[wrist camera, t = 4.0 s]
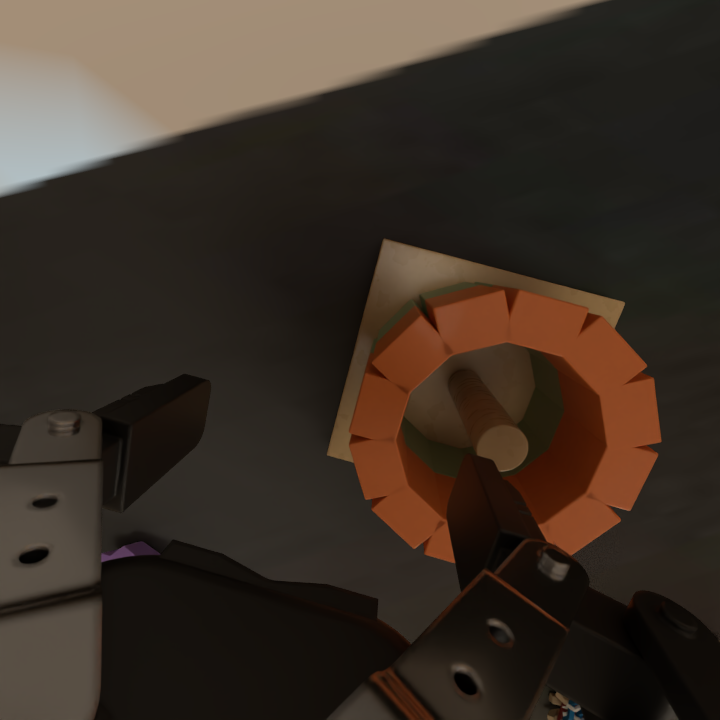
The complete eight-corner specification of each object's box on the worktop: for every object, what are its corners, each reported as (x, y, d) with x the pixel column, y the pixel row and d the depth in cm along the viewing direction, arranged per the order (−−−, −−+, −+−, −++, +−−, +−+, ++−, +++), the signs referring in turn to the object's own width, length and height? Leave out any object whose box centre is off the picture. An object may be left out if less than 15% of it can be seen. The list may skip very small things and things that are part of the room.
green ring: (344, 446, 25) (335, 478, 21) (395, 260, 22) (395, 258, 18) (525, 496, 25) (550, 539, 21) (601, 315, 22) (646, 325, 18)
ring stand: (329, 445, 27) (293, 546, 17) (383, 239, 23) (376, 219, 14) (527, 500, 26) (605, 635, 17) (611, 300, 23) (770, 324, 13)
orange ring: (335, 478, 21) (322, 526, 17) (395, 258, 18) (396, 256, 14) (550, 539, 21) (585, 601, 17) (646, 325, 18) (716, 341, 14)
